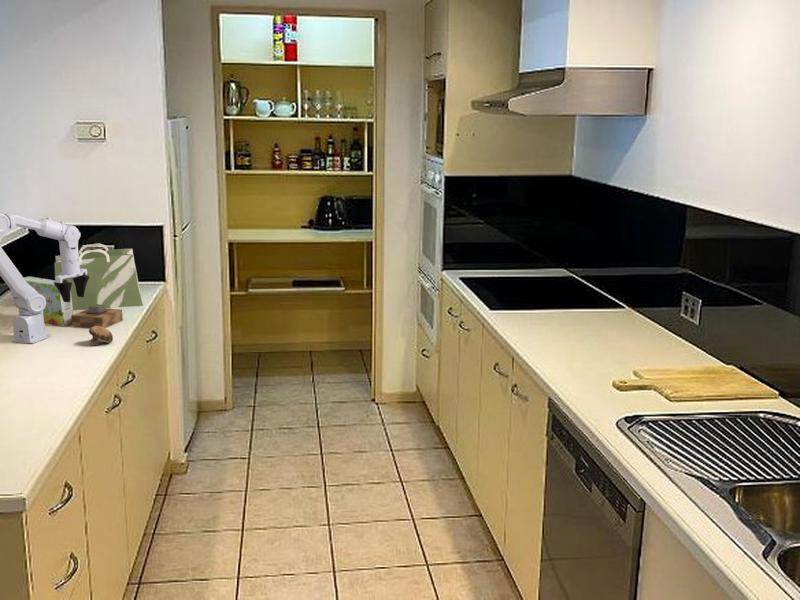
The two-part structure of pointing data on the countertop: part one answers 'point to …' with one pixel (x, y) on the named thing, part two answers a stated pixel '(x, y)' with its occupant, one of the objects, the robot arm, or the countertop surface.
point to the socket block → (97, 318)
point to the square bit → (97, 309)
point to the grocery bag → (106, 278)
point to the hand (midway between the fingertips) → (73, 299)
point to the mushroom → (100, 335)
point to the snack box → (52, 302)
